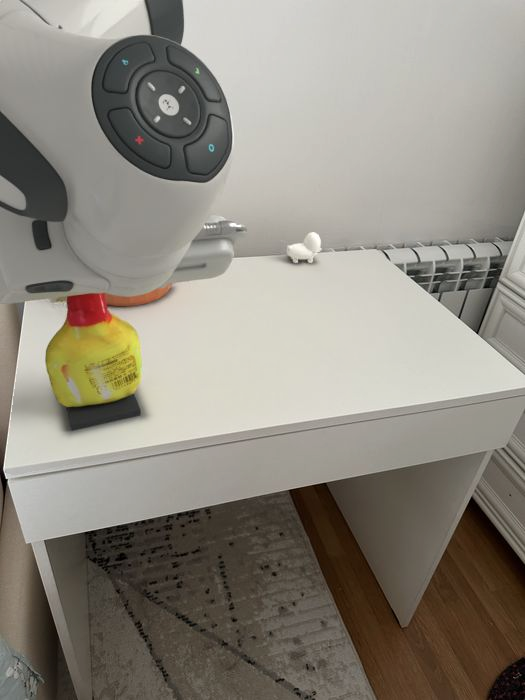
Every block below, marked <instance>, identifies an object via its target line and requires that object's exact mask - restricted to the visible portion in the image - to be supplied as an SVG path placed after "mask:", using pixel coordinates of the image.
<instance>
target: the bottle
mask: <svg viewBox="0 0 525 700" xmlns="http://www.w3.org/2000/svg"><path fill="white" fill-rule="evenodd" d="M65 302H66V307H67V310H66V311H67V312H66V318H65V321H64V322H63V324H62V326H61V327H60V328H59V329H58V330H57V331H56V333H55V334H54V335H53V337H51V339H50V340H49V342H48V344H47V346H46V349H45V357H44V359H45V361H44V363H45V368H46V372H47V375H48V379H49V384H50V386H51V389H52V392H53V394H54V397H55V398H56V400H57V402H58V403H59V404H60V405H62V406H63V407H65V408H66V407H80V406H86V405H96V404H102V403H108V402H113V401H117V400H119V399H122V398H124V397H127V396H129V395H132V394H133V393H134V394H135V393H136V392H137V389H138V387H139V385H140V382H141V380H142V353H141V352H142V351H141V344H140V343H141V342H140V338H139V335H138V332H137V330H136V329H135V327H133V325H131V323H129V322H128V321H125V320H123V319H122V318H120V317H118V316H117V315H116V314H114V313H112V312H110V311H109V310H108V305H107V304H106V299H105V293H90V294H82V295H74V296H67V301H65Z"/></svg>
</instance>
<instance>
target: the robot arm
mask: <svg viewBox="0 0 525 700" xmlns="http://www.w3.org/2000/svg"><path fill="white" fill-rule="evenodd" d="M184 10H185V9H184V0H0V305H11V304H17V303H18V304H19V303H25V302H33V301H40V300H41V301H42V300H49V302H50V303H60V302H66V301H67V296H74V295H82V294H90V293H107V294H111V295H115V296H126V297H129V296H138V295H142V294H146V293H149V292H151V291H153V290H155V289H160V288H165V287H166V286H167V284H170V283H173V284H175V283H183V282H191V281H200V280H208V279H209V280H210V279H214V278H217V277H219V276H222V275H224V274H225V273H226V272H227V270H228V269H229V267H230V266H231V264H232V262H233V260H234V257H235V251H234V246H236V245H238V244H239V243H241V242H242V241H243V239H245V237H246V236H247V231H248V229H247V227H246V226H245V224H240V223H239V224H237V223H236V221H235V220H231V219H226V218H225V217H223V216H220V215H212V214H213V212H214V211H215V207H216V206H217V204H218V202H219V200H220V198H221V196H222V194H223V191H224V188H225V185H226V183H227V180H228V178H229V174H230V170H231V166H232V161H233V158H234V149H235V135H234V134H235V131H234V123H233V117H232V112H231V108H230V105H229V102H228V98H227V96H226V94H225V91H224V89H223V87H222V86H221V83H220V81H218V79H217V77H216V75H215V74H214V73H213V71H212V70H211V69H210V68H209V66H207V64H206V63H205V62H204V61H203V60H202V59H201V58H199V56H197V55H196V54H194V53H193V52H192V51H191V50H189V49H188V48H186V47H185V46H184V45H182V44H183V39H184V32H185V11H184Z"/></svg>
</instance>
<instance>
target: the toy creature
mask: <svg viewBox="0 0 525 700" xmlns="http://www.w3.org/2000/svg"><path fill="white" fill-rule="evenodd" d="M321 245H322V240H321V238H320V235H319V234H318V233H316V232H314V231H311V232H309V233H307V235H306V236H305V237H304V239H303V242H298V243H293V244H286V255H288V256H289V257H290V260H292V263H294V264H298V263H299V260H307V263H310V264H311V263H313V261H314V257H316V256H317V254H318V253H321V251H322V250H323V249H322V247H321Z"/></svg>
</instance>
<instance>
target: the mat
mask: <svg viewBox="0 0 525 700" xmlns="http://www.w3.org/2000/svg"><path fill="white" fill-rule="evenodd" d="M65 410H66V414H67V417H68V423H69V427H70V431H72V432H73V431H76V430H81V429H85V428H86V429H87V428H89V427H94V426H99V425H103V424H108V423H113V422H116V421H120V420H126V419H130V418H134V417H139V416H141V415H142V412H141V411H142V410H141V408H140V405H139V402H138V400H137V398H136V395H135V393H133V394H132V395H129V396H127V397H124V398H122V399H119V400H117V401H113V402H108V403H102V404H96V405H86V406H80V407H66V406H65Z"/></svg>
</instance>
